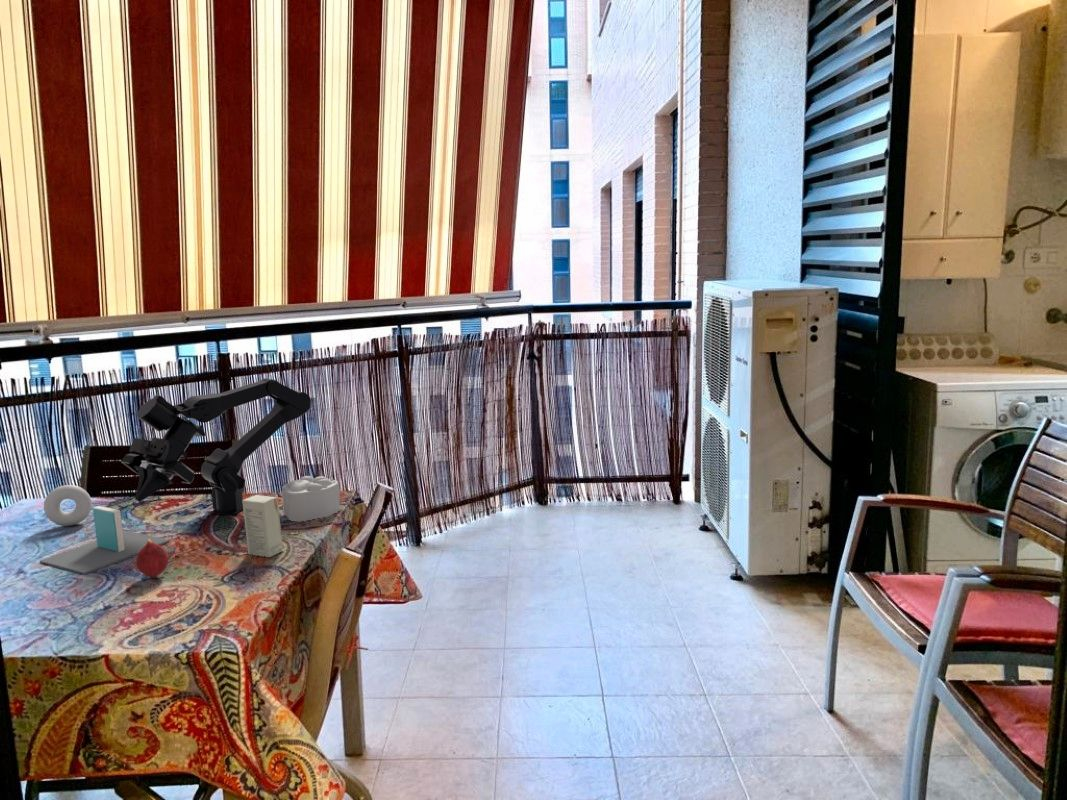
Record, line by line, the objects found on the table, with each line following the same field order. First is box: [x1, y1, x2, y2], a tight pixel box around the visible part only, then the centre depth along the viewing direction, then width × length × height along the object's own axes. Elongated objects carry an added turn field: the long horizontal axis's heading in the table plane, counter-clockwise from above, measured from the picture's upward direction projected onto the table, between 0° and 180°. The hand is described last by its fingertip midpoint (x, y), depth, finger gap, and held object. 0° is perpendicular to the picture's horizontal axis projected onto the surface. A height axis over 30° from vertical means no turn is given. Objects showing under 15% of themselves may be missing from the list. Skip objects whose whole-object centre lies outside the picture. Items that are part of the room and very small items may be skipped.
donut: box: [43, 484, 93, 527], centre depth 189 cm, size 10×4×10 cm, turn 117°
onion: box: [135, 539, 170, 579], centre depth 157 cm, size 6×6×8 cm
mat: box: [39, 530, 170, 575], centre depth 172 cm, size 20×15×1 cm
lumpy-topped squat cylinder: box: [281, 475, 341, 522], centre depth 195 cm, size 10×13×9 cm
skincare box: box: [242, 494, 284, 558], centre depth 169 cm, size 6×4×12 cm
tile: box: [92, 505, 125, 552], centre depth 172 cm, size 2×7×9 cm, turn 63°
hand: (137, 500), depth 179 cm, fingers closed
